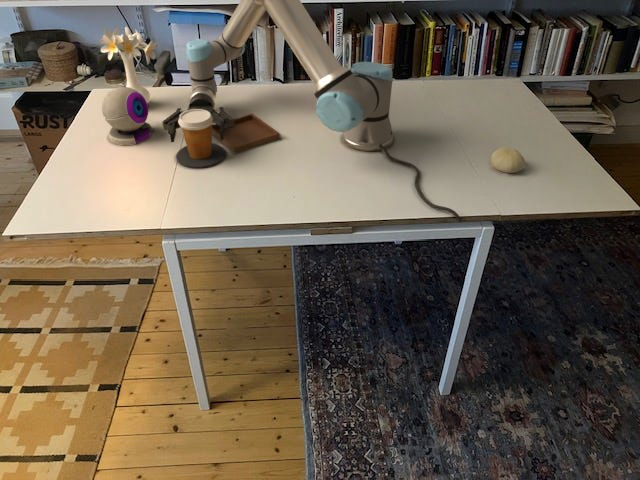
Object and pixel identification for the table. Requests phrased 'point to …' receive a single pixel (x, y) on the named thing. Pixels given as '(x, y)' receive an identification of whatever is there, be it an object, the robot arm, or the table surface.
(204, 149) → the disposable coffee cup
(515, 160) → the sea urchin shell
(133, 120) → the webcam
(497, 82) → the table surface
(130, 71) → the flower vase
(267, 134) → the tray
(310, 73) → the robot arm
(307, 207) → the table surface
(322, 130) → the table surface
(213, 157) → the coaster
